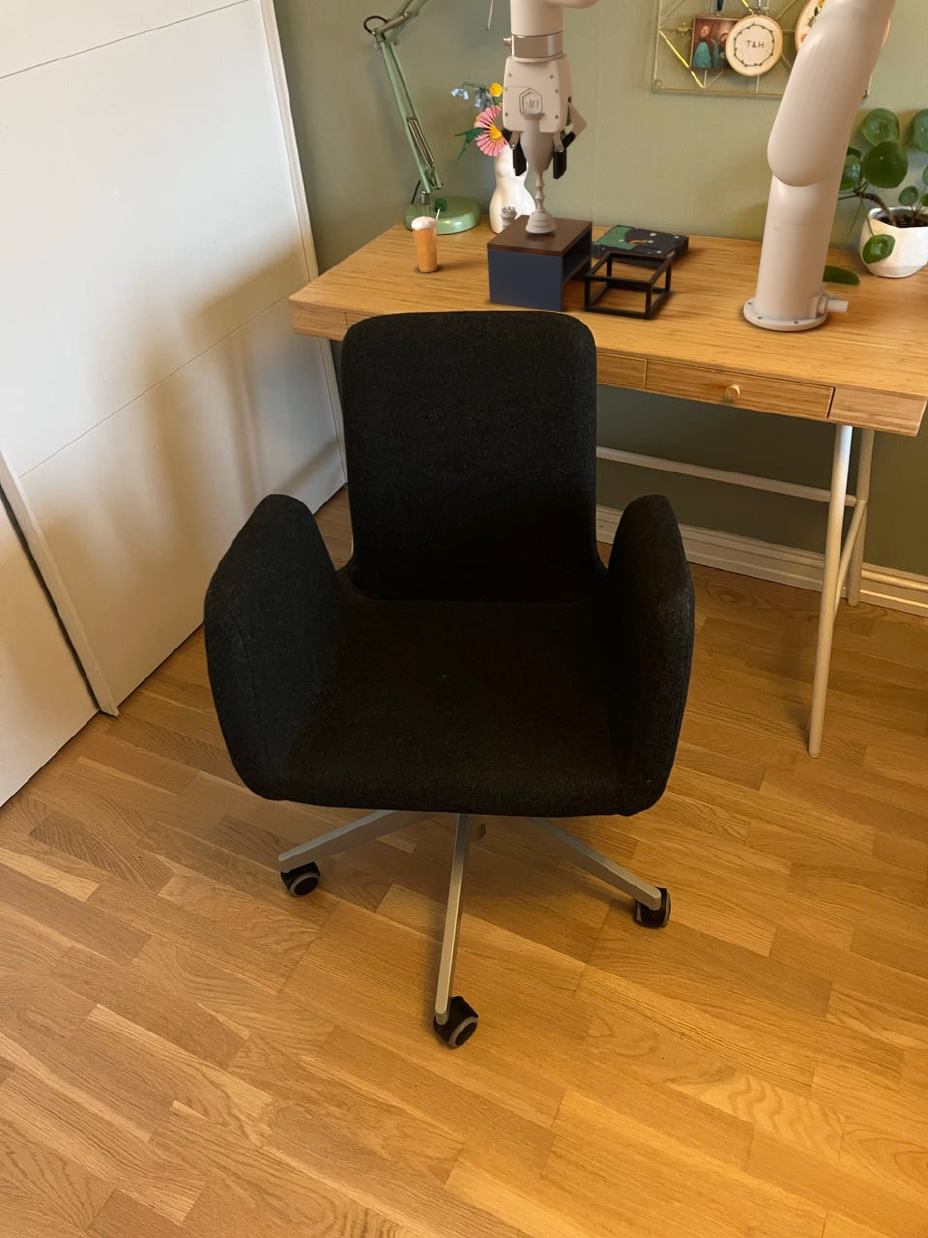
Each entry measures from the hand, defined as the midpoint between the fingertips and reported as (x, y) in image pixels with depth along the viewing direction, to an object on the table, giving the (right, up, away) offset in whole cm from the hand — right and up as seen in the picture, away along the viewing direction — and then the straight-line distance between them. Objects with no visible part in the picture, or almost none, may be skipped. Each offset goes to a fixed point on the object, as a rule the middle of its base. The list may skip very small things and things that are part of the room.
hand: (539, 173), depth 153 cm
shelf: (+1, -14, +12) cm, 19 cm away
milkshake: (-18, -7, +24) cm, 31 cm away
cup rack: (+15, -18, +7) cm, 24 cm away
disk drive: (+20, -5, +22) cm, 30 cm away
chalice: (+1, -6, +6) cm, 9 cm away
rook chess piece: (-3, -3, +27) cm, 27 cm away
